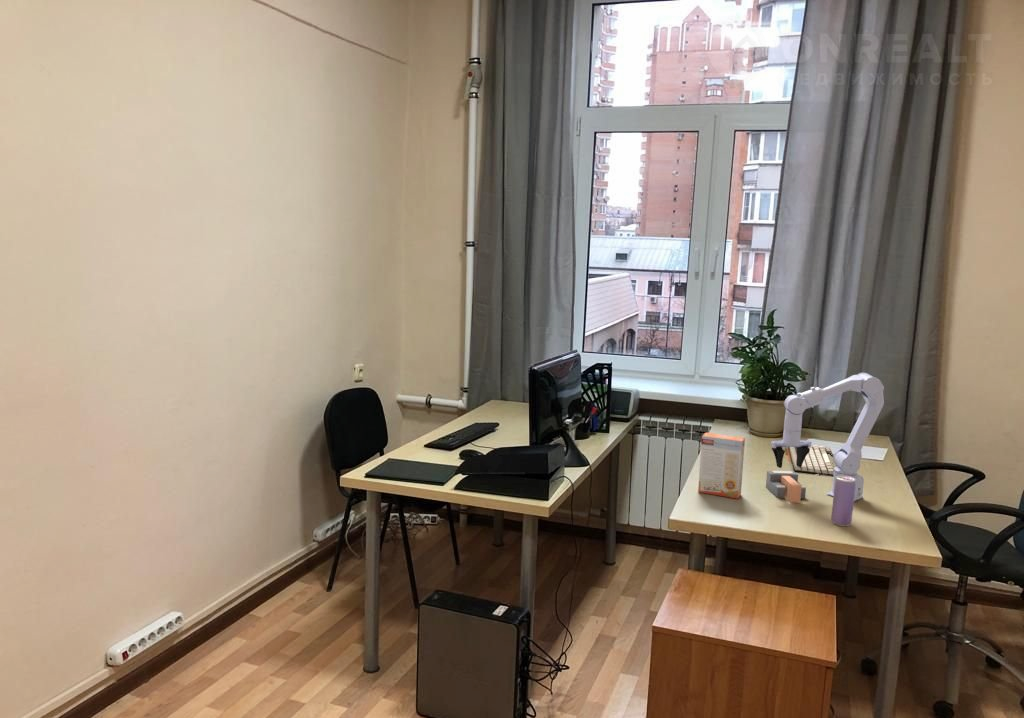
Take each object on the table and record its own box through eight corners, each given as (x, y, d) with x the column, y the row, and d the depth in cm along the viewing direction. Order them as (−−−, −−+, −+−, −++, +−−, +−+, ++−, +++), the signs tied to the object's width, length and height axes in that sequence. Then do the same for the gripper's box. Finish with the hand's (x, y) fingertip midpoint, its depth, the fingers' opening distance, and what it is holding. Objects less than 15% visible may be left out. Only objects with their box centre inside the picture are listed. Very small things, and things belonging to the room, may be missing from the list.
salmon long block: (779, 491, 268) (781, 475, 267) (788, 491, 268) (789, 475, 267) (791, 502, 257) (792, 486, 256) (800, 502, 257) (801, 486, 256)
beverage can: (849, 528, 235) (854, 482, 233) (829, 523, 238) (834, 478, 236) (852, 522, 240) (857, 477, 238) (832, 518, 243) (837, 473, 241)
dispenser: (765, 486, 272) (767, 470, 271) (793, 487, 272) (794, 470, 271) (776, 497, 261) (778, 480, 260) (805, 498, 262) (806, 480, 260)
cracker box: (741, 494, 263) (746, 437, 260) (738, 499, 258) (742, 441, 255) (701, 487, 270) (705, 431, 266) (697, 492, 264) (701, 435, 261)
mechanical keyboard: (843, 479, 286) (844, 470, 285) (790, 473, 291) (791, 465, 290) (829, 452, 322) (830, 445, 321) (783, 448, 327) (783, 441, 326)
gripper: (804, 426, 268) (801, 462, 270) (767, 427, 265) (764, 463, 268) (816, 431, 261) (812, 468, 263) (777, 432, 259) (774, 470, 261)
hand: (789, 466), depth 265 cm, fingers open, 7 cm apart
